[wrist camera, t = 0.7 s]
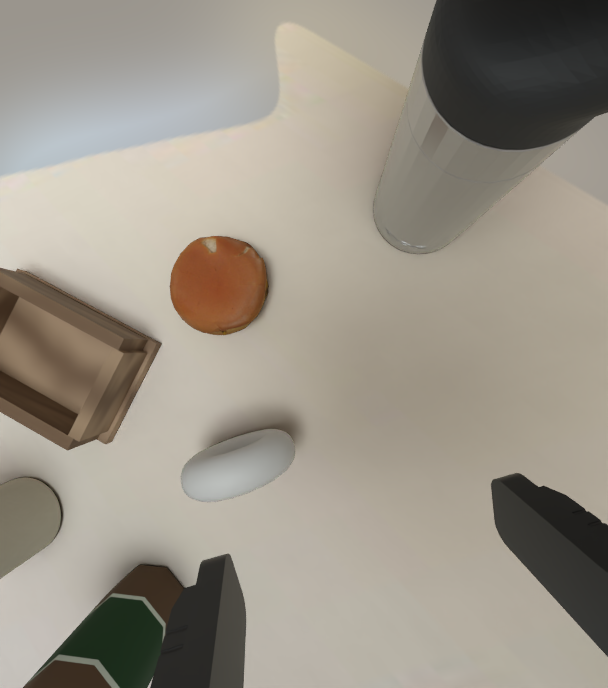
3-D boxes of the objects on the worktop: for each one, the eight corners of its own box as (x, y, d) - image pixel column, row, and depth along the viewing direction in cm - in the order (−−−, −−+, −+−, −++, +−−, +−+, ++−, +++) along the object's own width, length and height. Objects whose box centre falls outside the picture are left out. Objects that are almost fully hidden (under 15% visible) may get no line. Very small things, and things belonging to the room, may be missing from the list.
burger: (202, 350, 35) (183, 349, 30) (167, 270, 35) (143, 257, 31) (288, 310, 34) (282, 303, 30) (251, 229, 35) (240, 210, 30)
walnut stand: (25, 271, 36) (-23, 258, 31) (161, 343, 35) (134, 342, 30) (-22, 366, 36) (-78, 368, 31) (111, 441, 35) (76, 456, 30)
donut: (294, 415, 34) (280, 442, 24) (304, 448, 34) (294, 489, 24) (202, 442, 34) (151, 479, 25) (211, 474, 34) (164, 525, 24)
